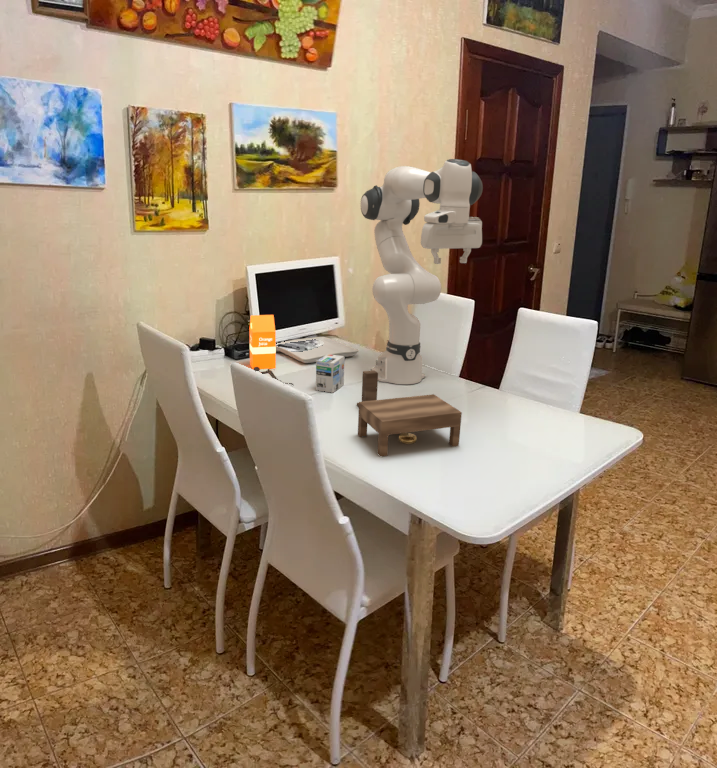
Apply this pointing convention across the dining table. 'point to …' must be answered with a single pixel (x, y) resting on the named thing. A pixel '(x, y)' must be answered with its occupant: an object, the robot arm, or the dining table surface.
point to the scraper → (369, 386)
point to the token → (407, 438)
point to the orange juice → (262, 342)
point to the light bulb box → (330, 373)
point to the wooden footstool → (408, 418)
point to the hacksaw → (269, 372)
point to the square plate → (319, 350)
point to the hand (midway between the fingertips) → (450, 263)
